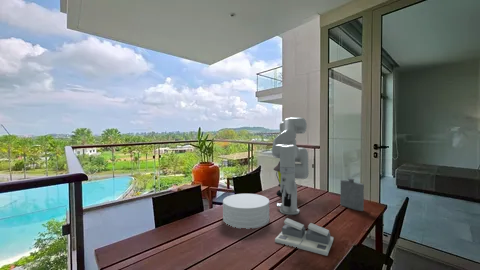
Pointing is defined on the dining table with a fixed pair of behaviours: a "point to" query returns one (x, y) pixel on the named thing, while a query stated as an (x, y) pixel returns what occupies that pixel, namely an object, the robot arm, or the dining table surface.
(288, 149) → the robot arm
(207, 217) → the dining table surface
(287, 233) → the panel
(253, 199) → the plate stack
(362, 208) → the hip flask
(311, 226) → the right switch
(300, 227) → the left switch
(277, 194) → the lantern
